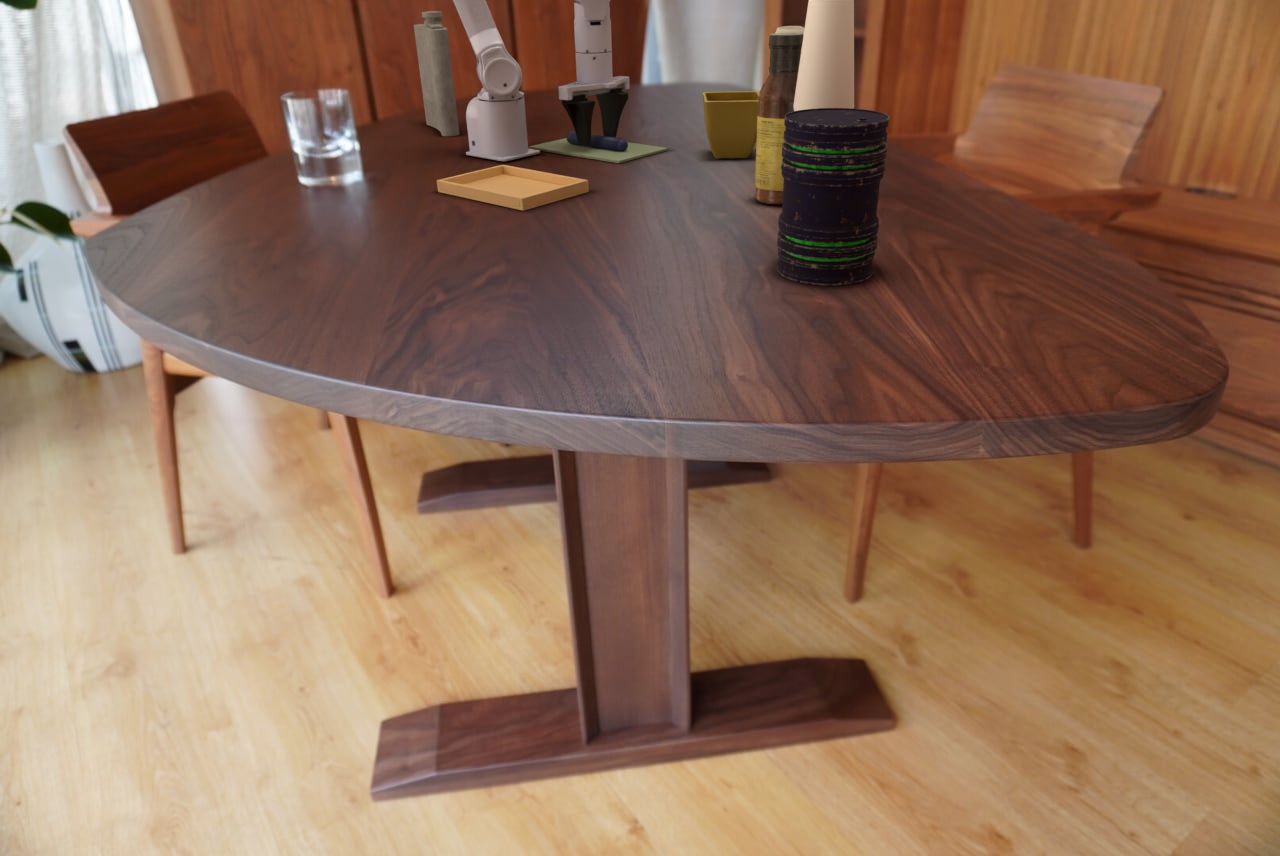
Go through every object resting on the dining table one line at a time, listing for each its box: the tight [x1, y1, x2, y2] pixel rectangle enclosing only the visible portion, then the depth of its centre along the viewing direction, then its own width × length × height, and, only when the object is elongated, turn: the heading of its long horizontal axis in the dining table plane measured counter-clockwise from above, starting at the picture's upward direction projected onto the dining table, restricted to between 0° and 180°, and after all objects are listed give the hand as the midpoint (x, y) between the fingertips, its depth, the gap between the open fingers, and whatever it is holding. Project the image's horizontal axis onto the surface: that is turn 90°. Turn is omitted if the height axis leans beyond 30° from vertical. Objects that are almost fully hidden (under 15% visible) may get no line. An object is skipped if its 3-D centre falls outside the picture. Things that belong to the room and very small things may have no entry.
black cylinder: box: [776, 108, 890, 286], centre depth 88 cm, size 10×10×15 cm
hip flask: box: [413, 10, 460, 137], centre depth 164 cm, size 16×4×20 cm, turn 24°
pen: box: [565, 130, 629, 151], centre depth 148 cm, size 13×2×2 cm, turn 50°
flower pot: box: [702, 90, 760, 160], centre depth 140 cm, size 9×9×9 cm
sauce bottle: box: [754, 32, 803, 206], centre depth 112 cm, size 7×6×20 cm
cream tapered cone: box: [793, 0, 855, 111], centre depth 102 cm, size 7×7×24 cm
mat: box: [528, 137, 669, 164], centre depth 149 cm, size 20×12×1 cm, turn 50°
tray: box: [436, 164, 590, 212], centre depth 124 cm, size 17×12×2 cm
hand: (597, 141), depth 148 cm, fingers open, 6 cm apart
